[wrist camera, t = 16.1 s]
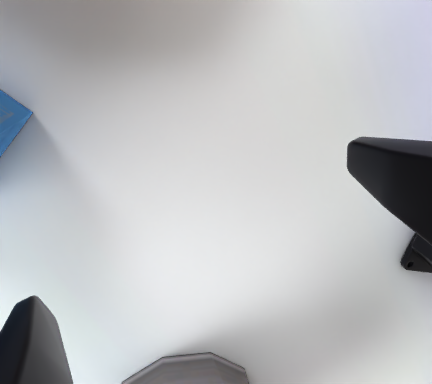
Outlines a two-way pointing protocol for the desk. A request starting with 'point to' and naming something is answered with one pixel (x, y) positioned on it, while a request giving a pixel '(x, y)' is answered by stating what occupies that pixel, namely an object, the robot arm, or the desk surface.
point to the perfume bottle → (11, 119)
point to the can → (190, 371)
